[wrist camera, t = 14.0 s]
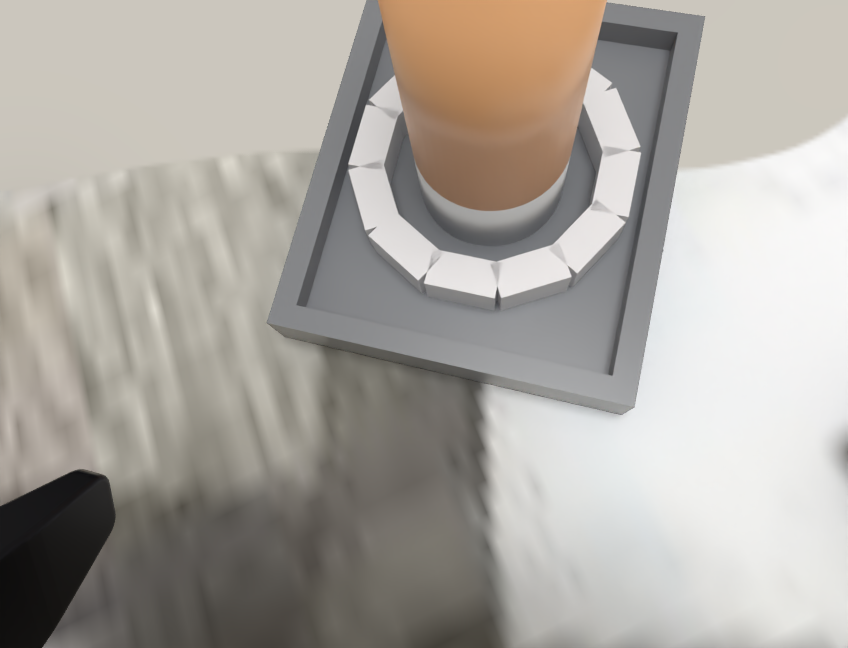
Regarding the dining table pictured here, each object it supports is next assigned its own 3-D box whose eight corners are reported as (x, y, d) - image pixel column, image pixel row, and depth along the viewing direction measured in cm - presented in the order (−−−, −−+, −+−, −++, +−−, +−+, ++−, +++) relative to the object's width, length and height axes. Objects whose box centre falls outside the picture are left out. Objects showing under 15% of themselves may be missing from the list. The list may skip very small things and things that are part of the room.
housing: (622, 414, 23) (637, 404, 20) (284, 336, 24) (261, 319, 22) (688, 52, 26) (709, 6, 23) (384, 6, 27) (373, -41, 25)
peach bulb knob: (438, 261, 23) (377, -9, 11) (408, 135, 25) (322, -236, 12) (580, 226, 23) (684, -88, 11) (542, 101, 25) (595, -311, 12)
